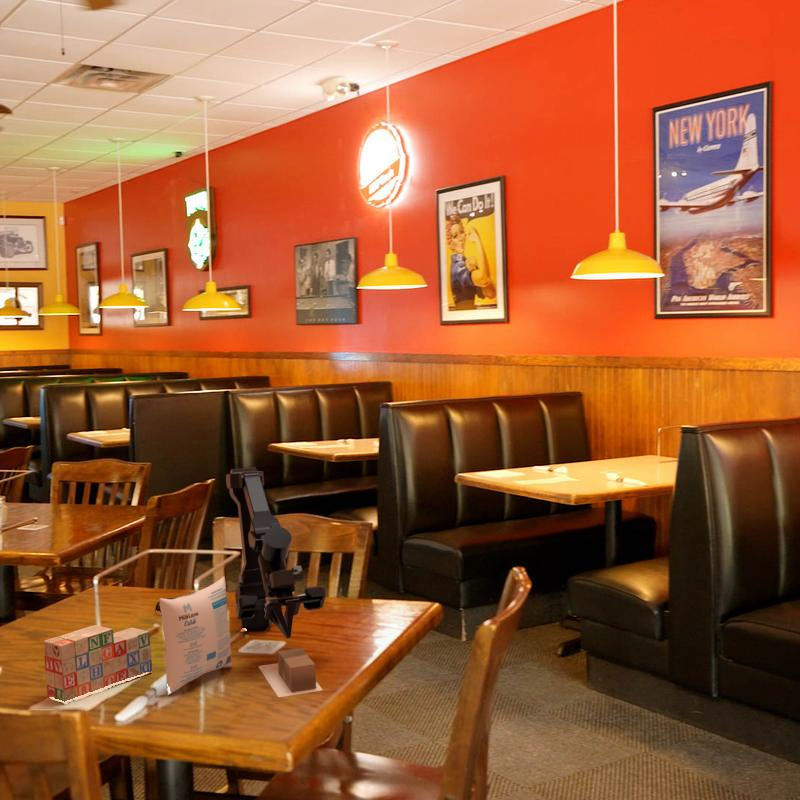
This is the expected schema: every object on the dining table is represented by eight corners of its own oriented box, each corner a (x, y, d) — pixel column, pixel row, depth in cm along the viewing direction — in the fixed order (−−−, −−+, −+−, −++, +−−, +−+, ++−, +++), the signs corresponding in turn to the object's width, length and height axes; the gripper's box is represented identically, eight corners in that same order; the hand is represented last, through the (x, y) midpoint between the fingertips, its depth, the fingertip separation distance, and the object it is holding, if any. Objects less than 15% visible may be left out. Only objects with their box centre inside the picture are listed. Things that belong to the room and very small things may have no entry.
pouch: (246, 670, 214) (241, 578, 212) (177, 699, 198) (171, 600, 197) (219, 664, 218) (214, 574, 217) (151, 692, 203) (145, 595, 202)
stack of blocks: (135, 668, 219) (131, 613, 218) (153, 673, 215) (149, 617, 214) (47, 699, 202) (42, 639, 201) (64, 705, 198) (60, 644, 197)
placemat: (258, 667, 215) (258, 666, 215) (298, 661, 218) (298, 659, 218) (278, 699, 196) (278, 697, 196) (322, 691, 199) (322, 689, 199)
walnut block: (277, 650, 209) (290, 667, 198) (300, 646, 211) (315, 664, 200) (278, 673, 210) (291, 692, 198) (301, 669, 211) (316, 688, 200)
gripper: (235, 558, 210) (248, 624, 201) (321, 548, 216) (337, 612, 207) (231, 586, 218) (243, 651, 209) (314, 576, 224) (329, 638, 215)
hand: (288, 637), depth 210 cm, fingers closed
